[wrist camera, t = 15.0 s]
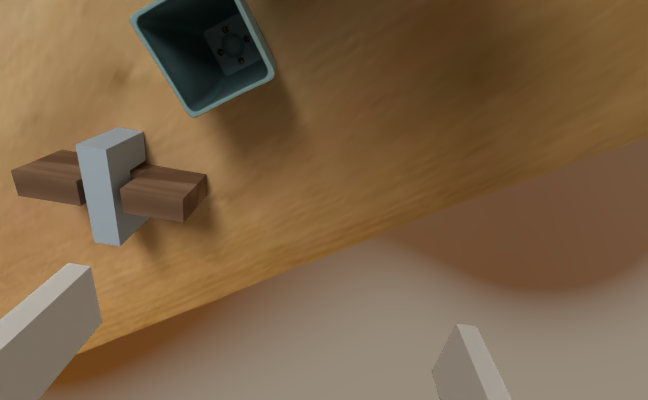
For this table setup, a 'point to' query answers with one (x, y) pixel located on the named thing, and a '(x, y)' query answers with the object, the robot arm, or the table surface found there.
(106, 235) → the light blue notched brick
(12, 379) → the robot arm
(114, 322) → the table surface
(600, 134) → the table surface
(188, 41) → the flower pot
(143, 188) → the walnut notched block
